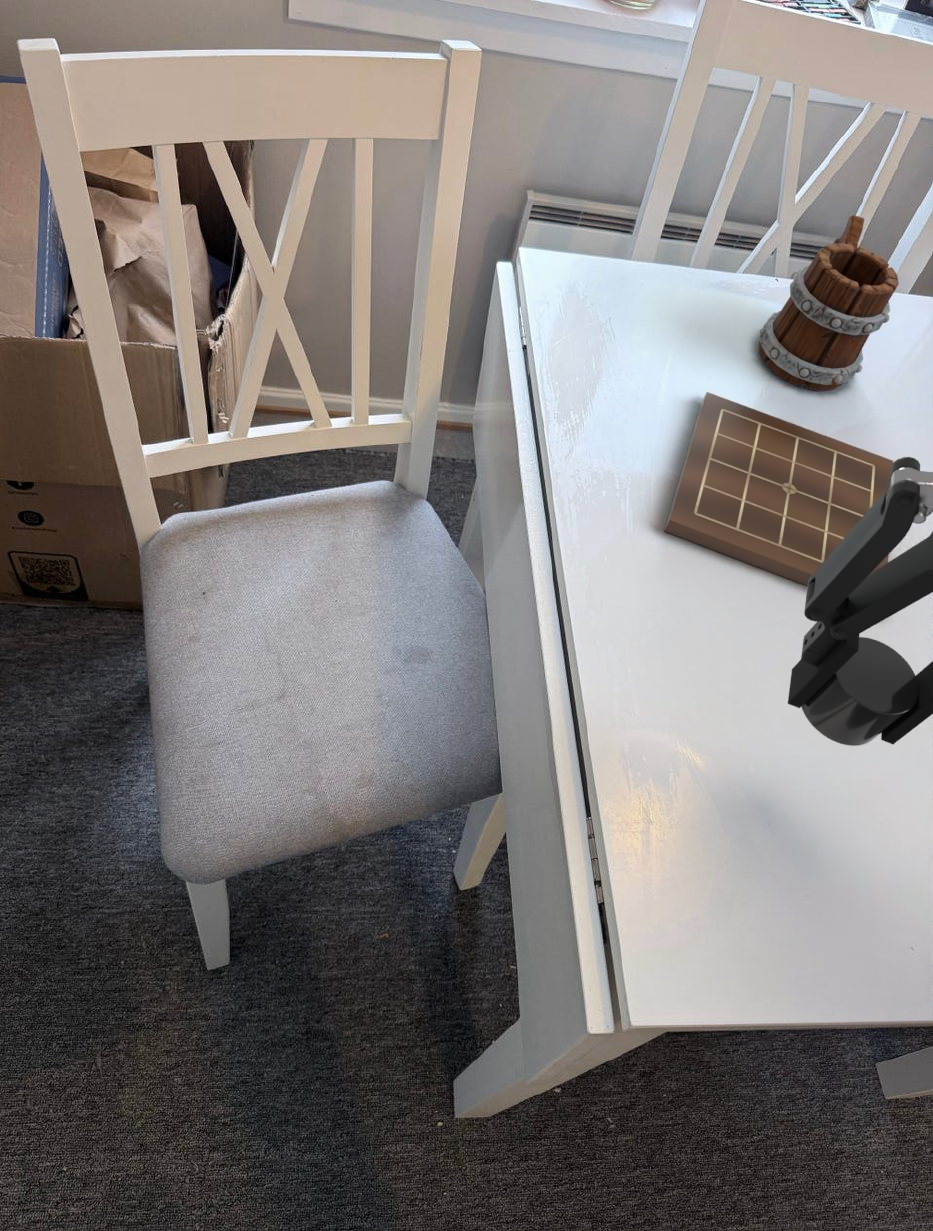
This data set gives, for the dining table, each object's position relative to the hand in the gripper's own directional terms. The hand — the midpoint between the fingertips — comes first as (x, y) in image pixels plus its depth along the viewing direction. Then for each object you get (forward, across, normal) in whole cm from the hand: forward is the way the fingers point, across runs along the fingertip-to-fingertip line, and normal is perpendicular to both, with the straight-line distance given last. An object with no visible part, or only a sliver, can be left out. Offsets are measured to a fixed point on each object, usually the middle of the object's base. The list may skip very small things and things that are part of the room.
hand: (842, 705), depth 51 cm
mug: (+13, +1, -58) cm, 60 cm away
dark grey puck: (0, 0, 0) cm, 0 cm away
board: (+13, +1, -32) cm, 35 cm away
